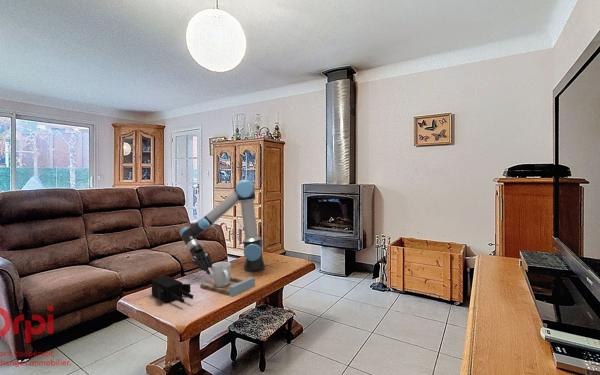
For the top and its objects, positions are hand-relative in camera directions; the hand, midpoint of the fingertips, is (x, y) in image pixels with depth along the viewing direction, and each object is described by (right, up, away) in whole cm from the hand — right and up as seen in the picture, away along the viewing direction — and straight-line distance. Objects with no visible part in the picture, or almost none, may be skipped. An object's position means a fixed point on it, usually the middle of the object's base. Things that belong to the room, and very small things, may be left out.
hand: (213, 277), depth 183 cm
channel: (+9, -4, -4) cm, 11 cm away
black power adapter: (-14, -5, -23) cm, 28 cm away
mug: (+7, -4, -3) cm, 9 cm away
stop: (+21, -4, -12) cm, 24 cm away
